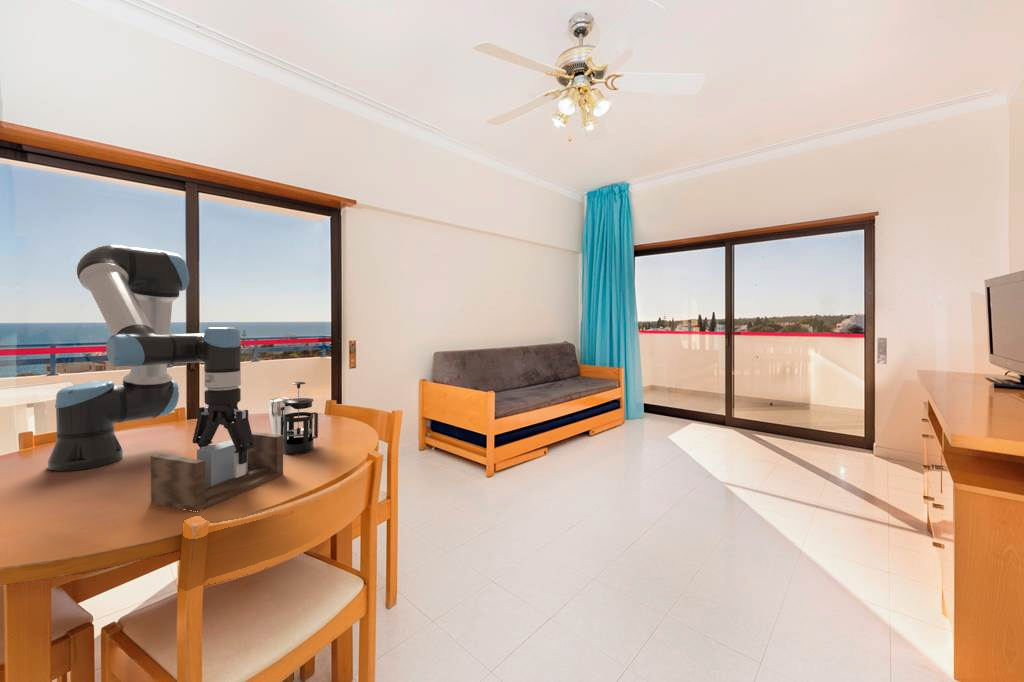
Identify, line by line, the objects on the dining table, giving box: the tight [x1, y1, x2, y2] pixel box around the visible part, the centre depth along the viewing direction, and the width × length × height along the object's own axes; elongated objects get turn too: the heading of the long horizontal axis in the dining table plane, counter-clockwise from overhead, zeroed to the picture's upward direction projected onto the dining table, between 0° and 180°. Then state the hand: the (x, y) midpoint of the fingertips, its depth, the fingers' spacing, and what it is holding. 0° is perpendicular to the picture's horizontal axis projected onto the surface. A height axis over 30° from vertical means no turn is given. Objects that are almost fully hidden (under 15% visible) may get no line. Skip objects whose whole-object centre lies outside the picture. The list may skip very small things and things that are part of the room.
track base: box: [150, 431, 284, 513], centre depth 104 cm, size 14×24×11 cm, turn 165°
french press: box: [283, 381, 319, 456], centre depth 134 cm, size 12×9×23 cm
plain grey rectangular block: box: [196, 439, 248, 489], centre depth 104 cm, size 4×10×10 cm, turn 165°
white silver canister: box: [268, 397, 293, 441], centre depth 144 cm, size 7×7×15 cm
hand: (223, 473), depth 104 cm, fingers open, 10 cm apart
